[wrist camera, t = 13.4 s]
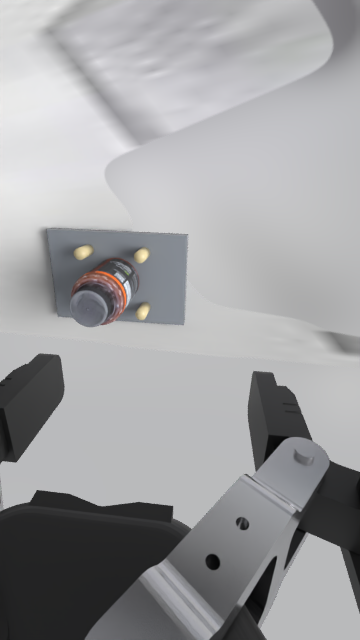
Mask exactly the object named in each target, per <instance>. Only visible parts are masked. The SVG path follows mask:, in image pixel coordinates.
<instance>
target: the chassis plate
mask: <svg viewBox="0 0 360 640" xmlns="http://www.w3.org/2000/svg"><path fill="white" fill-rule="evenodd" d="M47 236H48V244H49V252H50V259H51V267H52V275H53V282H54V290H55V298H56V305H57V313H58V317H72V315H71V313H70V309H69V303H70V300H71V291H72V288H73V286H74V284H75V282H76V281H77V280H78V279H79V278H80V277H81V276H83V275H84V274H86V273H87V272H88V271H90V270H91V269H93V268H94V267H96V266H97V265H98V264H100V263H101V262H103V261H105V260H107V259H110V258H121V259H124V260H126V261H128V262H129V263H131V264H132V265H133V266H134V268H135V269H136V271H137V273H138V276H139V288H138V290H137V292H136V294H135V295H134V297H133V298H132V300H131V301H130V302H129V304H128V305H127V307H126V308H125V310H124V311H123V312H122V314H121V315H120V316H119V317H118V318H117V319H116V321H130V322H145V323H159V324H174V325H184V322H185V301H186V275H187V251H188V250H187V249H188V234H172V233H171V234H170V233H150V232H128V231H106V230H84V229H62V228H50V229H47ZM72 318H73V317H72Z"/></svg>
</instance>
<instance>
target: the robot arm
mask: <svg viewBox="0 0 360 640" xmlns="http://www.w3.org/2000/svg"><path fill="white" fill-rule="evenodd" d="M63 395H64V380H63V373H62V365H61V359H60V357H59V355H53V354H38V355H37V356H36V357H35V358H34V359H33V360H32V361H31V362H29V364H25V365H23V366H21V367H19V368H17V369H16V370H13V371H12V372H11V373H10V374H9V375H8V376H7V377H6V378H5V379H3V380H2V381H1V382H0V463H1V462H2V461H8V462H17V461H18V460H19V458H20V457H21V455H22V454H23V453H24V451H25V450H26V449H27V447H28V446H29V444H30V443H31V442H32V440H33V439H34V438H35V436H36V435H37V433H38V432H39V430H40V429H41V428H42V426H43V425H44V424H45V422H46V421H47V420H48V418H49V417H50V415H51V414H52V413H53V411H54V410H55V408H56V407H57V406H58V405H59V403H60V402H61V400H62V398H63ZM248 422H249V429H250V435H251V442H252V449H253V456H254V462H255V469H256V473H255V474H254V475H253V476H252V477H250V476H248V475H247V474H244V475H242V476H241V477H240V478H239V479H238V480H237V481H236V482H235V483H234V484H233V485H232V486H231V487H230V488H229V489H228V491H227V492H226V493H225V494H224V495H223V496H222V497H221V498H220V500H218V502H217V503H216V504H215V505H214V506H213V507H212V508H211V509H210V510H209V511H208V513H206V515H205V516H204V517H203V518H202V519H201V520H200V521H199V522H198V523H197V525H196V526H195V527H194V528H193V529H191V528H189V527H188V526H187V525H185V524H183V523H182V522H180V521H178V520H175V519H173V506H168V505H159V504H150V503H142V502H136V503H128V504H120V505H112V506H103V507H102V506H97V505H95V504H92V503H90V502H88V501H85V500H83V499H80V498H78V497H76V496H73V495H71V494H65V493H57V492H48V491H39V490H37V491H36V493H35V495H34V497H33V498H32V500H31V501H30V502H28V503H24V504H19V505H15V506H12V507H9V508H7V509H5V510H3V501H2V491H1V481H0V640H266V638H265V637H264V635H263V634H262V632H261V630H260V628H261V626H262V624H263V622H264V620H265V618H266V616H267V615H268V613H269V611H270V609H271V607H272V605H273V602H274V600H275V598H276V595H277V593H278V590H279V588H280V586H281V583H282V581H283V579H284V577H285V575H286V574H287V572H288V570H289V568H290V566H291V565H292V563H293V561H294V559H295V557H296V556H297V554H298V552H299V550H300V548H301V547H302V545H303V543H304V541H305V539H306V537H307V536H308V534H309V533H310V534H312V535H315V536H317V537H319V538H322V539H324V540H326V541H329V542H331V543H333V544H336V545H338V546H340V548H341V551H342V554H343V558H344V561H345V565H346V568H347V571H348V575H349V578H350V582H351V585H352V589H353V592H354V595H355V599H356V602H357V606H358V609H359V612H360V472H358V471H355V470H352V469H349V468H346V467H343V466H341V465H338V464H336V463H334V462H332V461H330V460H329V457H328V455H327V453H326V452H325V450H323V448H322V447H321V446H319V445H318V444H316V443H315V442H313V441H312V438H311V435H310V433H309V430H308V428H307V425H306V423H305V420H304V417H303V415H302V414H301V410H300V407H299V406H298V402H297V400H296V397H295V395H294V394H293V393H292V392H291V391H290V390H289V389H288V388H287V387H286V386H277V384H276V381H275V378H274V375H273V373H271V372H259V371H258V372H257V371H254V372H253V374H252V381H251V388H250V395H249V402H248Z"/></svg>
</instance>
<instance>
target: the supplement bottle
mask: <svg viewBox="0 0 360 640" xmlns="http://www.w3.org/2000/svg"><path fill="white" fill-rule="evenodd" d="M138 288H139V276H138V273H137V271H136V269H135V268H134V266H133V265H132V264H131V263H129V262H128V261H126V260H124V259H121V258H110V259H107V260H105V261H103V262H101V263H100V264H98V265H97V266H96V267H94V268H93V269H91V270H90V271H88V272H87V273H86V274H84V275H83V276H81V277H80V278H79V279H78V280H77V281H76V282H75V284H74V286H73V288H72V291H71V300H70V303H69V309H70V313H71V315H72V317H73V318H74V319H75V320H76V321H77V322H78V323H79V324H81V325H83V326H86V327H96V326H99V325H106V324H109V323H111V322H113V321H115V320H116V319H117V318H118V317H119V316H120V315H121V314H122V312H123V311H124V310H125V308H126V307H127V305H128V304H129V302H130V301H131V300H132V298H133V297H134V295H135V294H136V292H137V290H138Z"/></svg>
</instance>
